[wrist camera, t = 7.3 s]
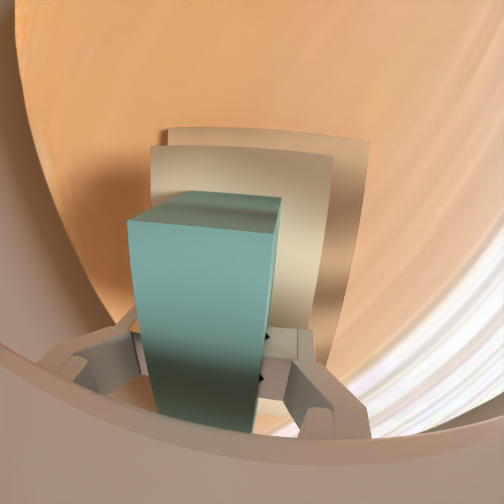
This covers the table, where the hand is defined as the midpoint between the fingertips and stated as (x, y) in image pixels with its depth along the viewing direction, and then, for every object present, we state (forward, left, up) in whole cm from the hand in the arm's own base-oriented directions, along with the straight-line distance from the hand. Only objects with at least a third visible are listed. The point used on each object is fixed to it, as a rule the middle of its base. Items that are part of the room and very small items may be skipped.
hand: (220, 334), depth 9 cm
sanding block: (0, 0, -4) cm, 4 cm away
